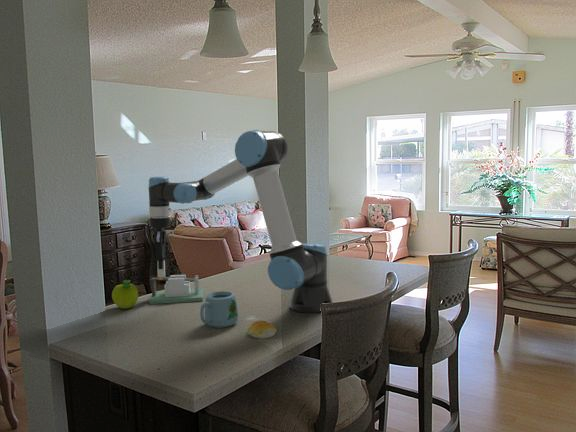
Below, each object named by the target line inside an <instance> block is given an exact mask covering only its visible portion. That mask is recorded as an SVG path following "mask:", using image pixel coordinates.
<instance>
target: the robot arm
mask: <svg viewBox="0 0 576 432" xmlns="http://www.w3.org/2000/svg"><path fill="white" fill-rule="evenodd" d="M288 151H289V146H288V142H287V140H286V138H285V137H284V136H283V135H282V134H281V133H279V132H276V131H274V130H272V131H271V130H269V131H268V130H259V129H255V130H248V131H245V132H243V133H242V134H241V135H240V136H239V137H238V138H237V140H236V142H235V145H234V155H235V158H236V159H234V160H232V161H230V162H229V163H227V164H225V165H223V166H222V167H220V168H218V169H216V170H215V171H212V172H211V173H209V174H208V175H206V176H205V177H204V176H203V177H202V178H200V179H198V180H194V181H193V180H192V181H184V182H170V180H169V177H167V176H151V177H149V179H148V199H149V201H148V203H149V204H148V206H149V207H148V209H149V212H148V213H149V215H148V216H149V217H150V218H149V227H150V228H153V229H155V231H154V233H153V235H154V245H155V260H154V261H155V262H156V263H157V264H156V266H157V267H156V268H157V269H156V270H157V271H156V273H157V278H158V277H166V260H167V259H168V258H167V257H166V256H167V255H166V239H167V238H166V236H167V231H165V228H169V227H170V226H171V221H170V220H171V218H170V217H169V216H170V211H172V209H171V207H170V203H176V204H183V205H184V204H191V203H193V202H194V201H203V200H204V201H205V200H209V199H212V198H213V197H214V196H215V194H216V193H218V192H221V191H223V190H224V189H226V188H228V187H230V186H232V185H234V184H235V183H237V182H239V181H241V180H243V179H245V178H246V177H250V178H252V180H253V182H254V186H255V189H256V194H257V197H258V200H259V204H260V208H261V211H262V215H263V218H264V223H265V226H266V229H267V233H268V236H269V241H270V244H271V249H269V254H268V255H269V258H270V262H269V265H268V266H267V275H268V277H269V280H270V281H271V282H272V284H273V285H274V286H276V287H277V288H279V289H281V290H284V291H291V290H293V291H292V295H291V298H290V301H289V302H290V309H291V310H293V311H296V312H299V313H306V314H307V313H313V314H314V313H321V312H320V304H322V303H332V304H333V299H332V295H331V293H330V290H329V287H328V262H327V261H328V260H327V259H328V258H327V257H328V254H327V247H326V245H324V244H321V243H302V242H301V241H299V240H298V239H297V236H296V233H295V229H294V226H293V221H292V218H291V215H290V212H289V208H288V204H287V200H286V197H285V193H284V190H283V185H282V181H281V179H280V175H279V169H280V167H281V162H283V161H284V160H285V158H286V156H287V155H288Z"/></svg>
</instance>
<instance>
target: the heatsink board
mask: <svg viewBox="0 0 576 432" xmlns="http://www.w3.org/2000/svg"><path fill="white" fill-rule="evenodd" d="M169 277H176V278H169V279H168V280H166V282H165V284H164V286H163V287H164V290H157V285H156V281H157V278H158V276H157V277H152V278H151V280H150V282H151V297H150V299H149V304H148V305H152V304H153V305H154V304H155V305H156V304H157V305H158V304H171V303H173V304H175V303H191V302H195V303H196V302H203V300H204V299H205V298H204V296H205V293H206V289H205V288H200V283H199V282H200V281H199V275H195V276H194V278H193V279H194V280H195V282H194V288H191V282H190V281H185V280H184V278H187V276H186V274H172V275H170V276H169Z"/></svg>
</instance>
